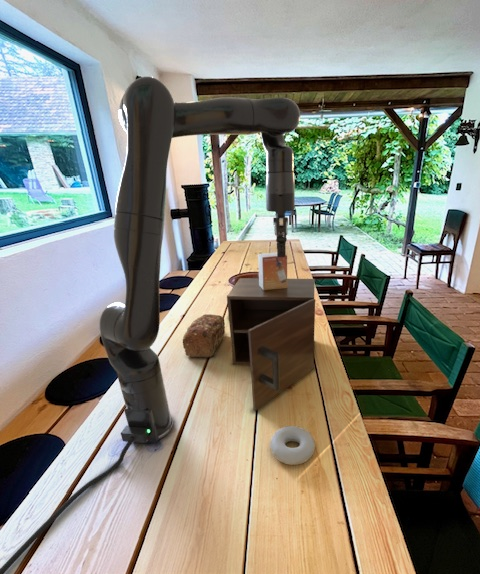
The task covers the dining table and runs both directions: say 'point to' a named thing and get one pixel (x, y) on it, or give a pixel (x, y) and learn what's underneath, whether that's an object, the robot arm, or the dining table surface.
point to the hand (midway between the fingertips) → (281, 253)
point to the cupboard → (260, 309)
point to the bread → (204, 336)
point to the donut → (292, 454)
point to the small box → (272, 271)
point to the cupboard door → (281, 352)
